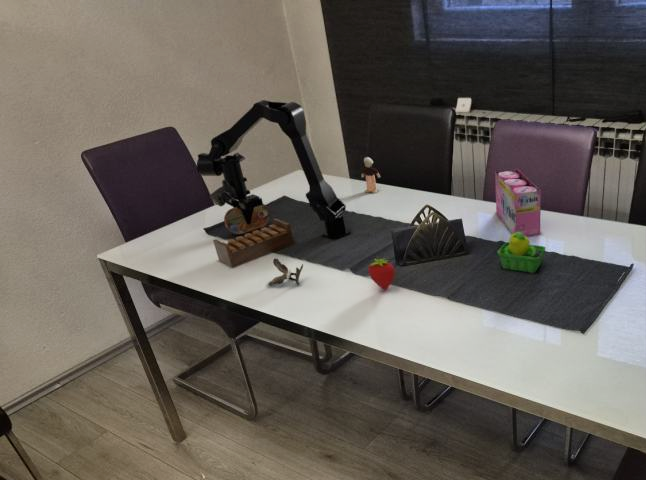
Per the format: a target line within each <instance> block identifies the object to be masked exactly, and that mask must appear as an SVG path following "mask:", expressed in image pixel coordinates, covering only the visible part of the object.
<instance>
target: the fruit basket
mask: <svg viewBox="0 0 646 480" xmlns="http://www.w3.org/2000/svg"><path fill="white" fill-rule="evenodd" d="M530 243H531V242H530V239H529V238H528V236H524V235H523V234H522V233H521V232H516V233H514V234H513V233H511V236H510V237H509V241H507V242H505V243H504V244H503V245H502V246H501V247H500V248H499V249H498V250H497V252H496V253H497V256H498V258H499V260H500V264H501V266H502V269H503V270H510V271H519V272H525V273H531V274H535V272H536V271H537V270H538V269H539V268H540V266H541V263H542V260H543V257H544V253H545V251H546V249H547V248H546V246H544V245H535V244H530Z"/></svg>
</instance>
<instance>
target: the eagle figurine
mask: <svg viewBox="0 0 646 480" xmlns="http://www.w3.org/2000/svg"><path fill="white" fill-rule="evenodd" d="M272 263H273V265H274V266H275V268H276V269H277V270H278V271H279V272H280V273H282V275H279V276H276V277H274V278H273V279H272V280H271V281H270V282H268V286H269V287H272V286H275V285H281V284H284V281H285V280H286V282H288V281H289V280H290V281H292V282H295V283H296V285H297V286H299V285H300V283H299V279H300V275H301V272H302V271H303V268H304V263H302V264H301V266H300V268H299V267H296V268H295V272H292V271H291V269H289V268H288V267H287V266H286V265H285V264H283V263H281V261H280V260H279V258H273V261H272ZM292 276H295V278H294V277H292Z"/></svg>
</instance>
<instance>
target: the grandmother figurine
mask: <svg viewBox="0 0 646 480" xmlns="http://www.w3.org/2000/svg"><path fill="white" fill-rule="evenodd" d="M363 162H364V167H363V169H362V171H361V175H360V176H361V178H365V183H366V189H365V192H364V193H371V194H376V193H377V192H378V189H377V182H376V181H377V180H376V177H375V176H377V178H378V179H379V178H381V175H380V172H379V171H378V169H376V168H374V167H373V164H374V161H373V159H372V158H370V157H369V156H367V157H364V158H363Z"/></svg>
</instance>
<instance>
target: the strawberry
mask: <svg viewBox="0 0 646 480" xmlns="http://www.w3.org/2000/svg"><path fill="white" fill-rule="evenodd" d="M389 262H390V260H388V259H387V260H386V257H383V258H379V257H377V258H374V262H372V263H369V266H368V274H369V276H370V279H371V280H372V281H373V283H375V284H376V285H377V286H378V287H379V288H380V289H381V290H383V291H387V290H388V288H389V287H390V286H391V284H392V283H393V281H394V280H395V275H396V269H395V267H394V266H393V265H392V264H391V263H389Z"/></svg>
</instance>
